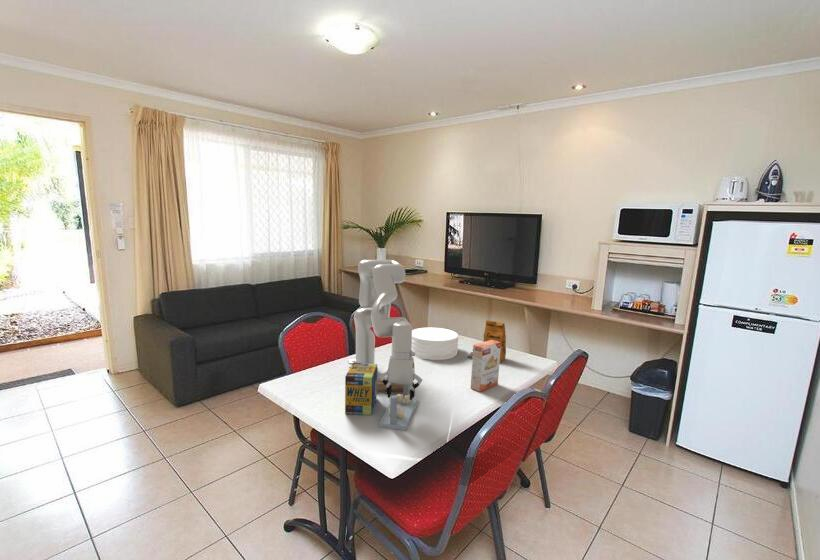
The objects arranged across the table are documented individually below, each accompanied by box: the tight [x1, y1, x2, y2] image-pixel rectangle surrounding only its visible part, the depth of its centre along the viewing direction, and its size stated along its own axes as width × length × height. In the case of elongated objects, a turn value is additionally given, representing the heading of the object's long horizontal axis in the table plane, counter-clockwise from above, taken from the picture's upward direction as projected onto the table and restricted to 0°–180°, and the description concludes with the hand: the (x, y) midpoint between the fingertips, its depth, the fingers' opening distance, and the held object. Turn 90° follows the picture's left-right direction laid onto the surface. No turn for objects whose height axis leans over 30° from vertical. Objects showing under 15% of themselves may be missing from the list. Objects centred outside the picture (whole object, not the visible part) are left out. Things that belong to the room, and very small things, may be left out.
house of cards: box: [466, 351, 473, 360], centre depth 215 cm, size 9×9×8 cm
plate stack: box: [411, 326, 459, 361], centre depth 224 cm, size 28×28×12 cm
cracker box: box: [470, 340, 501, 393], centre depth 177 cm, size 14×6×21 cm, turn 133°
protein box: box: [344, 363, 378, 416], centre depth 155 cm, size 10×15×16 cm
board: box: [377, 379, 411, 394], centre depth 171 cm, size 4×16×4 cm, turn 88°
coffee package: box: [482, 319, 507, 363], centre depth 214 cm, size 10×12×22 cm
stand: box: [378, 384, 419, 431], centre depth 150 cm, size 10×24×12 cm, turn 168°
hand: (400, 397), depth 150 cm, fingers open, 8 cm apart
